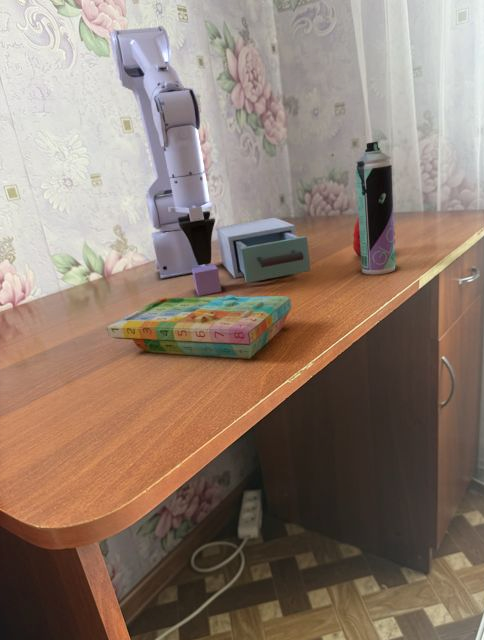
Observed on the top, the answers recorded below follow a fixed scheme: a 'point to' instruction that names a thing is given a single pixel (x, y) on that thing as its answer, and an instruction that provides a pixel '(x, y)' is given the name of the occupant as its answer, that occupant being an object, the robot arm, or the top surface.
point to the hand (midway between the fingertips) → (202, 259)
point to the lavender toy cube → (206, 280)
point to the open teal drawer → (271, 256)
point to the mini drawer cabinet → (246, 231)
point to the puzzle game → (205, 325)
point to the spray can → (375, 211)
